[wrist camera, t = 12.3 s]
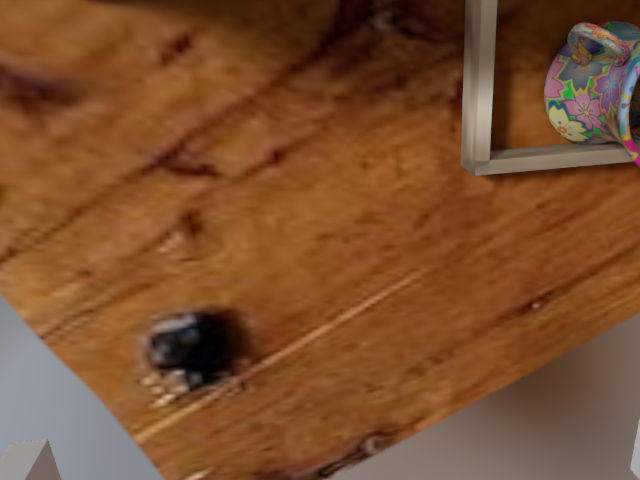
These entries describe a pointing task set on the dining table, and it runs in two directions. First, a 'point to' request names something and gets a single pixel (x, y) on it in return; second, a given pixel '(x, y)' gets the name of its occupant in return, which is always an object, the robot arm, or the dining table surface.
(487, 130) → the open square frame
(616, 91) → the mug
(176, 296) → the dining table surface
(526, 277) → the dining table surface
